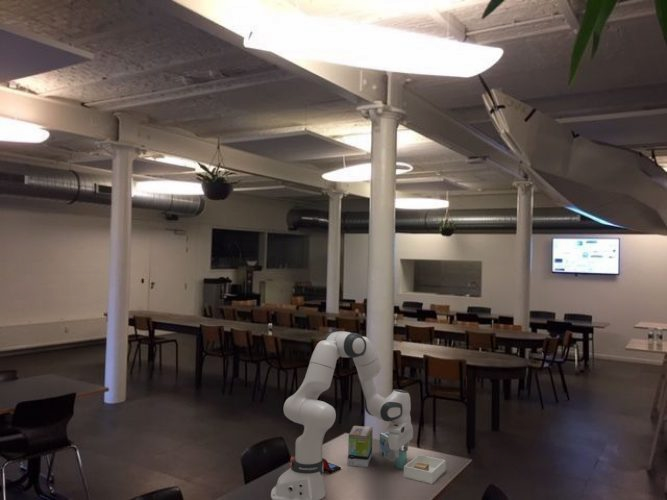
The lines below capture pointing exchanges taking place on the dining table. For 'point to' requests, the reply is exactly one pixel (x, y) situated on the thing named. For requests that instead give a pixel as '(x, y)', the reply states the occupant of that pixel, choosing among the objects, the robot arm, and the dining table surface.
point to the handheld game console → (330, 467)
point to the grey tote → (431, 476)
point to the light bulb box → (386, 447)
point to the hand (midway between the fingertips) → (401, 454)
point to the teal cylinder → (401, 460)
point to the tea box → (360, 446)
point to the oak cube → (422, 466)
